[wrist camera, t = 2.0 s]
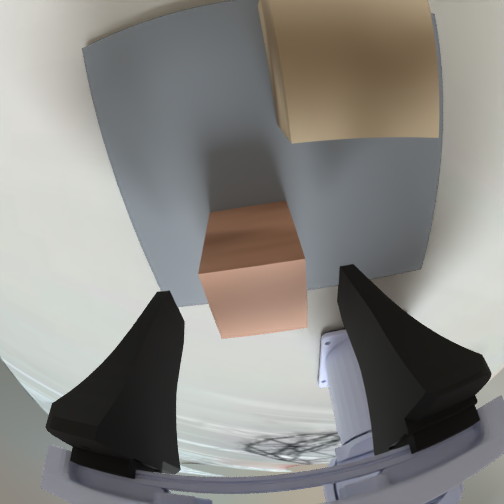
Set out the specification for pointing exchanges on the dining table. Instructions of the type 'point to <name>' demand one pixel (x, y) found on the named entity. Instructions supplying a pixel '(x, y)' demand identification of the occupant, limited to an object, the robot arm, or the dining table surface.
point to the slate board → (247, 153)
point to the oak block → (352, 68)
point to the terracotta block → (254, 271)
